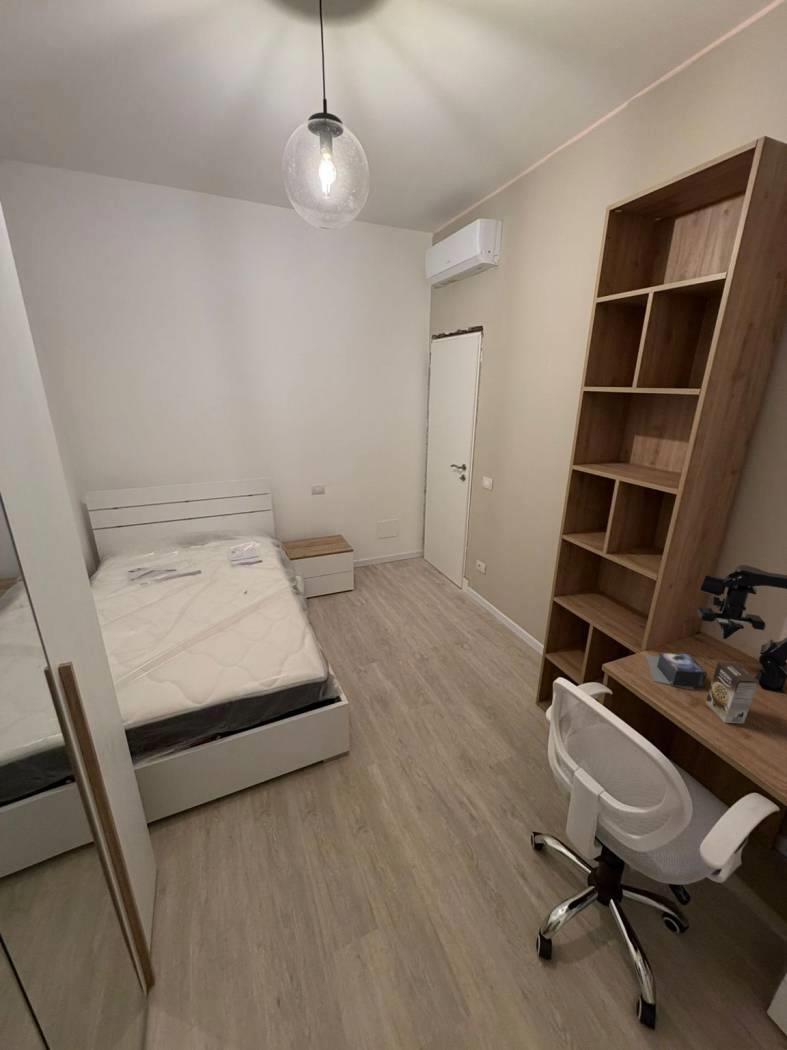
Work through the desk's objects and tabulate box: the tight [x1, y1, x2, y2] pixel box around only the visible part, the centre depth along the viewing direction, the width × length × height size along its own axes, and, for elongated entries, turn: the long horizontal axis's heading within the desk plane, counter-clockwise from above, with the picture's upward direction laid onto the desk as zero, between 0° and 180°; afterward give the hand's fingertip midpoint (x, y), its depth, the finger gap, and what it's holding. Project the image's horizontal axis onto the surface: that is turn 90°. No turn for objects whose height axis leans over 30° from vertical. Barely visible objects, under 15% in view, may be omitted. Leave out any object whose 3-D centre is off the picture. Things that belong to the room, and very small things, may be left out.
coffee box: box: [705, 661, 759, 724], centre depth 132 cm, size 9×6×16 cm
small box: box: [657, 652, 708, 688], centre depth 149 cm, size 11×6×10 cm
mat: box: [645, 654, 695, 691], centre depth 153 cm, size 12×16×1 cm
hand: (724, 638), depth 152 cm, fingers closed
